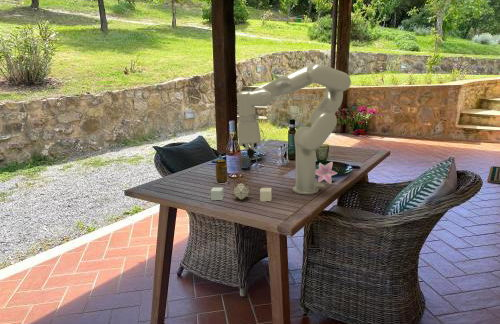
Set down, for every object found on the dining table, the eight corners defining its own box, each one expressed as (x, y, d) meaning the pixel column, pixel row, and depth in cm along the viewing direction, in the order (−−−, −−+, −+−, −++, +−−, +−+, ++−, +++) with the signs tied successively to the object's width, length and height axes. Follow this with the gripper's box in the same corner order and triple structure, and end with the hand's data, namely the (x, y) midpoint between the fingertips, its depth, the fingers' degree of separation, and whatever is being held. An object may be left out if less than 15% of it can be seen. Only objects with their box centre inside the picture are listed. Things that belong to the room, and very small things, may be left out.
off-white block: (271, 197, 185) (271, 187, 184) (271, 201, 181) (270, 191, 179) (261, 197, 186) (260, 187, 185) (260, 201, 181) (259, 191, 180)
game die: (240, 205, 187) (240, 185, 191) (254, 201, 183) (254, 181, 186) (228, 201, 181) (228, 180, 185) (242, 197, 176) (242, 176, 180)
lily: (308, 181, 210) (309, 169, 204) (321, 169, 216) (322, 156, 209) (327, 192, 204) (328, 179, 197) (340, 179, 210) (341, 166, 203)
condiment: (227, 179, 215) (226, 158, 212) (230, 184, 207) (229, 162, 204) (214, 181, 213) (212, 159, 210) (216, 185, 205) (215, 163, 202)
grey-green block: (223, 197, 188) (223, 187, 187) (221, 201, 183) (221, 191, 182) (213, 197, 189) (212, 187, 187) (211, 201, 184) (210, 191, 183)
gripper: (264, 115, 182) (267, 154, 187) (232, 118, 183) (236, 156, 188) (263, 118, 174) (266, 158, 179) (230, 121, 176) (234, 160, 181)
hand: (251, 157), depth 184 cm, fingers closed
